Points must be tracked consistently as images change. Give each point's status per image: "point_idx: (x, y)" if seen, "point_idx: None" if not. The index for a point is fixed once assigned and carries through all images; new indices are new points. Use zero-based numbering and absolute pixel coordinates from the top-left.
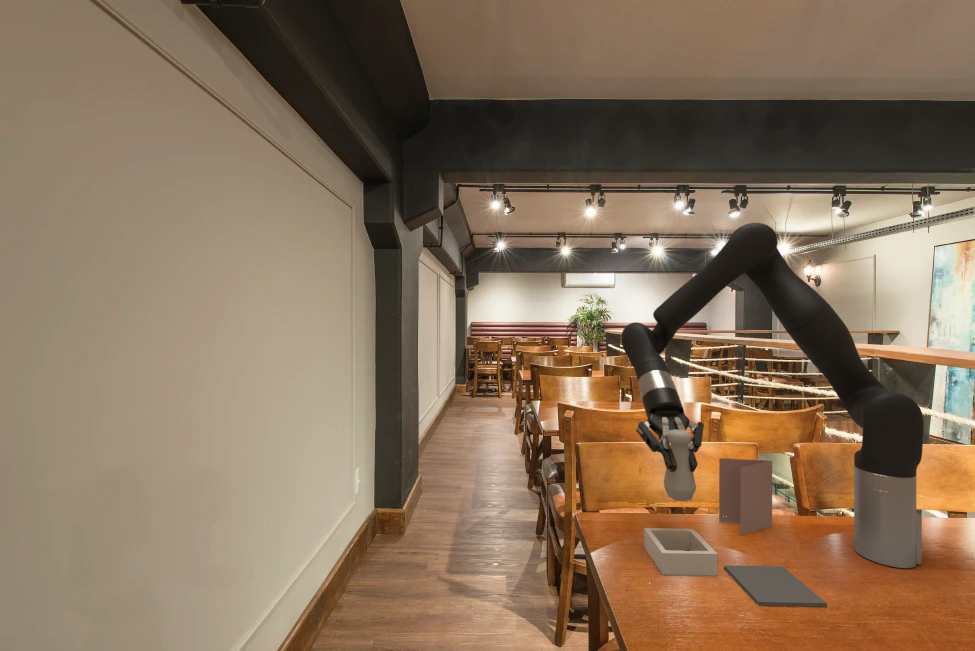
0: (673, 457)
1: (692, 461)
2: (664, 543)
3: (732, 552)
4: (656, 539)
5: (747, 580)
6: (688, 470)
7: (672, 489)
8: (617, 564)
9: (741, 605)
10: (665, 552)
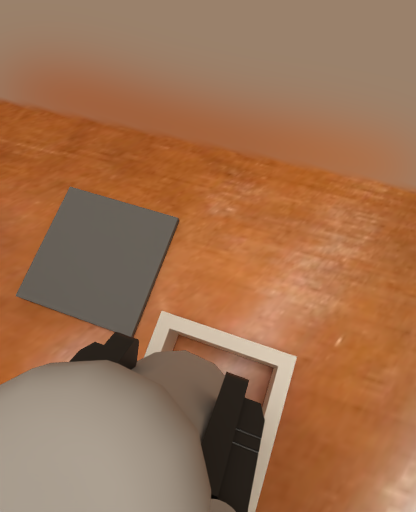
0: (215, 422)
1: (108, 356)
2: None
3: None
4: (264, 430)
5: (135, 276)
6: (150, 364)
7: None
8: (375, 438)
9: (208, 229)
10: (286, 356)
